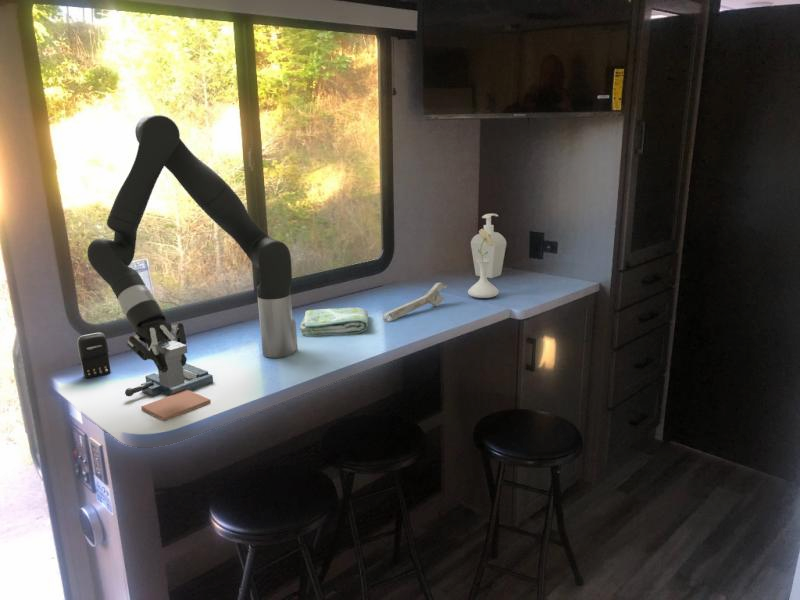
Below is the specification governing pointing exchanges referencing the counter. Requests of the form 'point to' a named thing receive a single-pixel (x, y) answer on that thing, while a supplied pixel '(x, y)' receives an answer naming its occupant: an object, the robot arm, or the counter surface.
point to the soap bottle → (489, 250)
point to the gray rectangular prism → (172, 363)
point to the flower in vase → (483, 273)
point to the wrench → (417, 303)
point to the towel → (334, 321)
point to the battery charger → (94, 354)
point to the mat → (175, 405)
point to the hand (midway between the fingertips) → (174, 367)
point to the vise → (190, 372)
